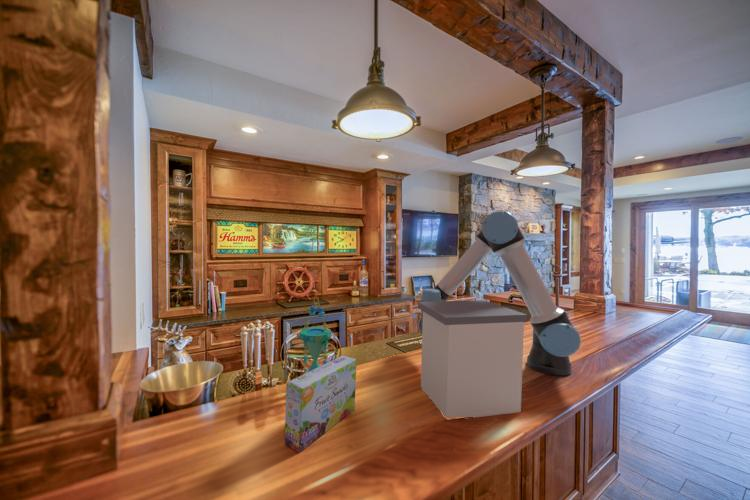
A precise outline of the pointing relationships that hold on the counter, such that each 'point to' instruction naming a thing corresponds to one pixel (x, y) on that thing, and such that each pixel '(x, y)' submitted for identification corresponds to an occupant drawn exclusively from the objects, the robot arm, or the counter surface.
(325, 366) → the snack box
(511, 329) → the under-counter cabinet
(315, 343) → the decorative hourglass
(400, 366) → the counter surface
